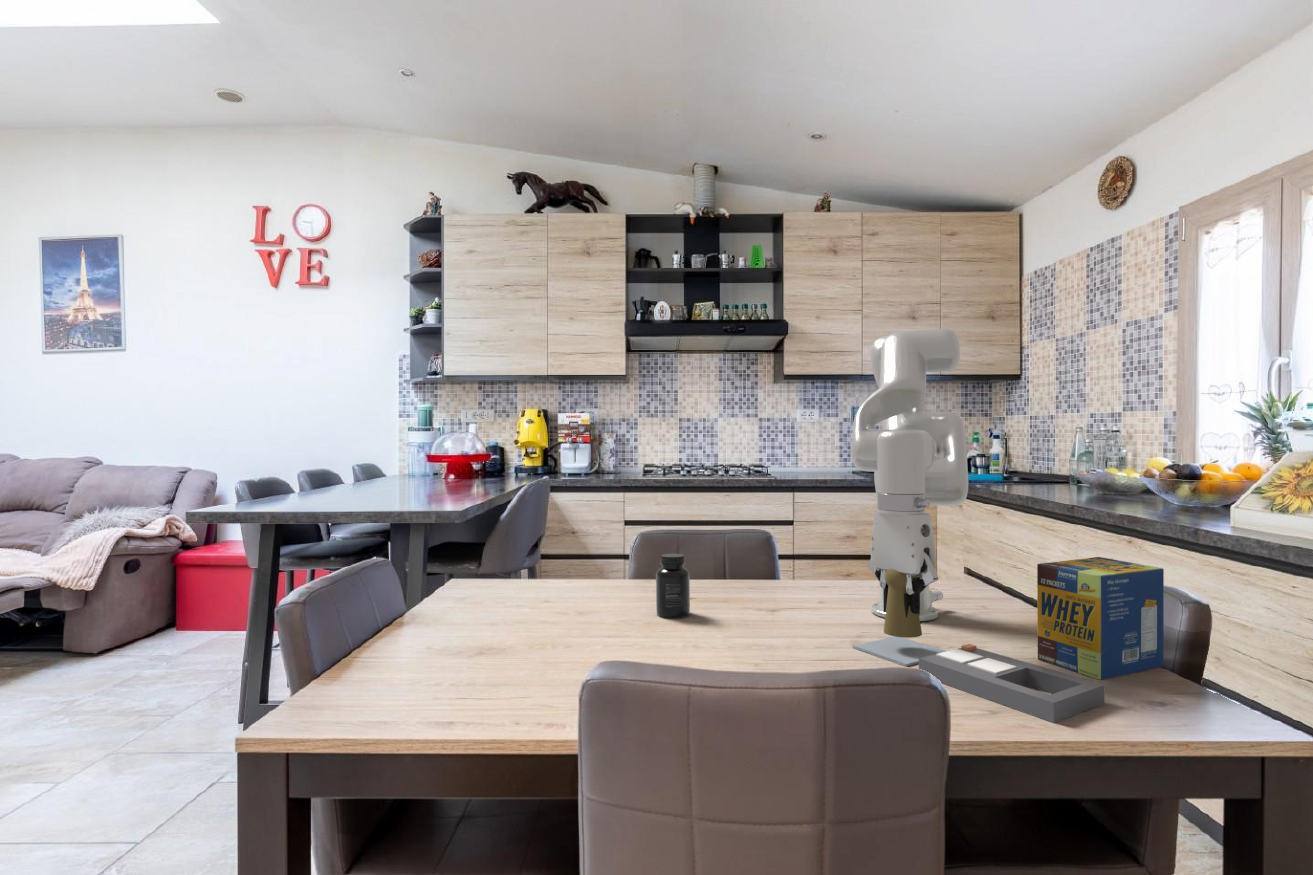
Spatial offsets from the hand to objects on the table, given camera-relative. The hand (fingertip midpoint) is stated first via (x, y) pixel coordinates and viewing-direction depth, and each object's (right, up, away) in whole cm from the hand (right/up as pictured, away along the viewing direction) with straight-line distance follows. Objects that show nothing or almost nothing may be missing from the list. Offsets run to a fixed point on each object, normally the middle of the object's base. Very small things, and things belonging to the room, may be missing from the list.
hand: (901, 613), depth 113 cm
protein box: (+29, -7, -6) cm, 30 cm away
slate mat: (0, -6, 0) cm, 6 cm away
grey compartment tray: (+9, -6, -17) cm, 20 cm away
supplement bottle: (-37, -7, +25) cm, 45 cm away
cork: (0, -3, 0) cm, 3 cm away
